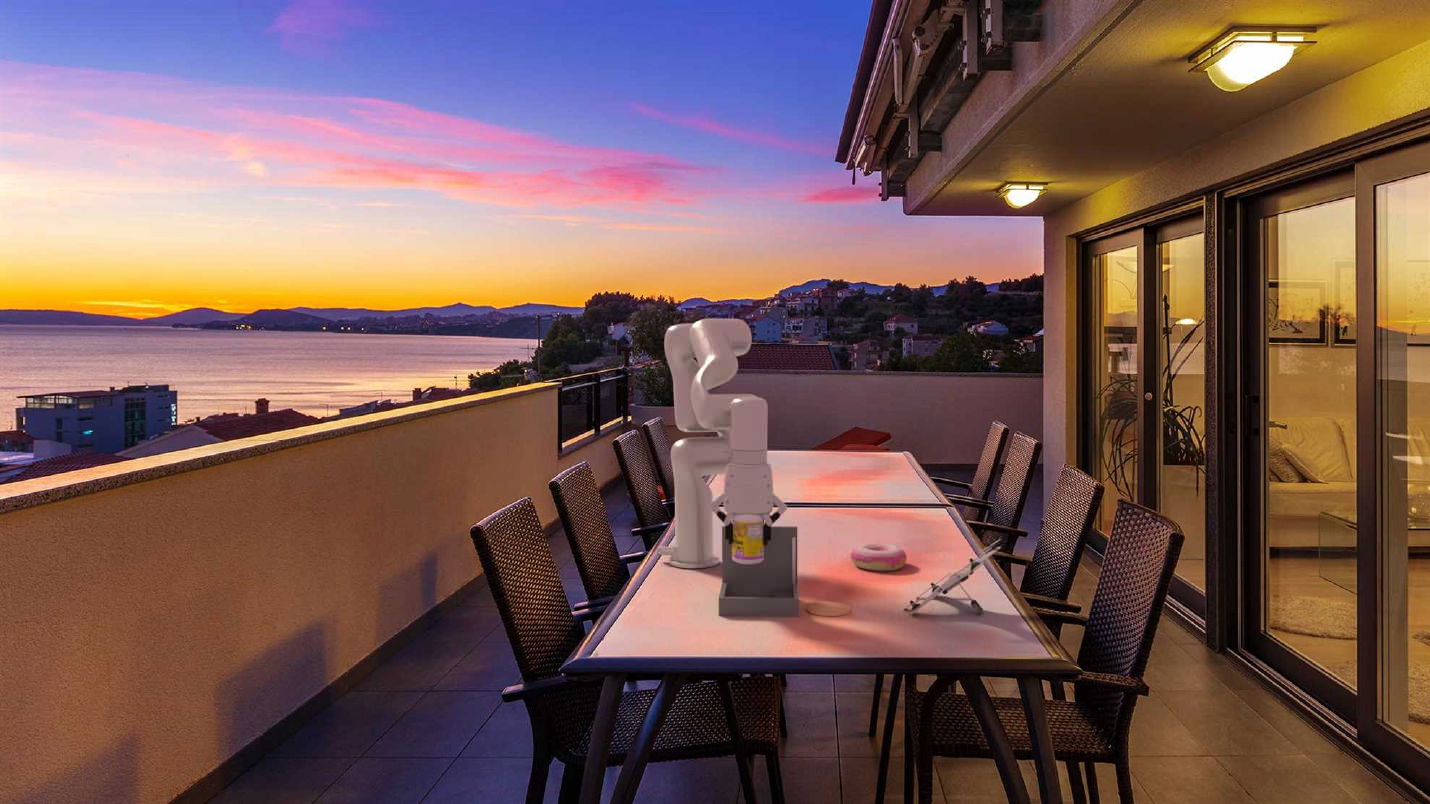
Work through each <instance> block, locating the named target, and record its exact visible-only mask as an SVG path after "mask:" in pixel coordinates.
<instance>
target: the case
mask: <svg viewBox="0 0 1430 804" xmlns="http://www.w3.org/2000/svg"><path fill="white" fill-rule="evenodd" d="M721 567H722V568H721V571H722V573H721V574H722V575H721V580H722V582H721V587H720V590H719V591H720V592H719V594H718V616H728V617H730V616H731V617H733V616H736V617H787V618H788V617H790V618H791V617H794V618H795V617H797V618H799V617H800V596H799V595H800V594H799V593H800V592H799V585H798V526H792V525H791V526H788V525H787V526H785V525H784V526H783V525H781V526H780V525H779V526H777V525H776V526H775V525H774V526H773V525H772V526H771V540H768V545H764V560H763V561H762V562H760V563H756V564H740V563H737V562H735V561H734V560H733V559H732V544H731V545H729V544H728V540H725V525H722V526H721Z"/></svg>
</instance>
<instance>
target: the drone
mask: <svg viewBox="0 0 1430 804" xmlns="http://www.w3.org/2000/svg"><path fill="white" fill-rule="evenodd" d="M1001 540H1002V538H999V539H998V540H996V541H995V542H993V543H991V544H990V543H988V542H987V543H986V547H985V548H984V549H981V550H980V551H979V552H978V554H980V555H979V556H978V557H976V558H974V559H973V558H971V557H970V558H969V562H970V563H968V564H967V565H965V566H964V567H962V568H961V569H960V570H958V571H957V572H955V573H953V574H952V572H949V573H948V574H947V575H945V576H944V577H942V578H941V579H940V580H938V581H937V582H936V583H934V582H931V583H930V585H931V587H929V588H927V589H925V591H923V592H921V594H920V595H918V596H917V597H915V599H916V600H915V601H913V599H911V600H909V603H910V604H908V605H906V606H905V607H904V608H903V609H902V610H906V609H907V608H910V606H911V612H910V613H909V615H910V616H912V615H913V614H914V613H916V612H917V611H918V610H920V609H922V608H923V607H924V606H926V605H927V604H928V603H930V602H931V601H932V600H934V599H935V598H936V597H937V596H939V595H940V594H943V595H947V594H948V593H949V592H950V591H951V590H954V588H956V587H957V586H958V585H959V586H960V588H961V589H962V590H963V592H964V593H965V594H966V595H967V597H968V598H969V599H970V605H971V607H972V608H973V609H974V611H975V612H976V613H977V614H978V615H982V614H984V609H983V607H982V605H980V603H979V602H978V601H977V600H976V599H972V598H971V596H970V595H969V593H967V591H966V590H965V589H964V588H963V587H962V585H961V584H962V583H964V582H965V581H967V580H968V579H969V578H970V576H972V575H973V574H974V572H975V571H976V570H978V569H980V567H982V566H983V565H985V562H984V561H985V560H987V559H988V558H989V557H990V556H992V555H993V554H994V553H996V552H997V551H999V550H1000V549H1001V546H994V545H995V544H997V543H998V542H1000V541H1001ZM949 575H950V576H949ZM948 576H949V577H948ZM946 577H948V579H946V580H945V581H944V582H942V583H941V584H940V585H938V584H939V583H940V582H941V581H943V580H944V579H945V578H946ZM931 589H932V590H931ZM930 590H931V593H930V595H928V597H926V598H925V599H924V600H923V601H921V600H922V599H923V598H924V597H921V596H922V595H924V594H925V593H926V592H928V591H930ZM918 598H919V599H918ZM919 601H921V603H918V602H919Z"/></svg>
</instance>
